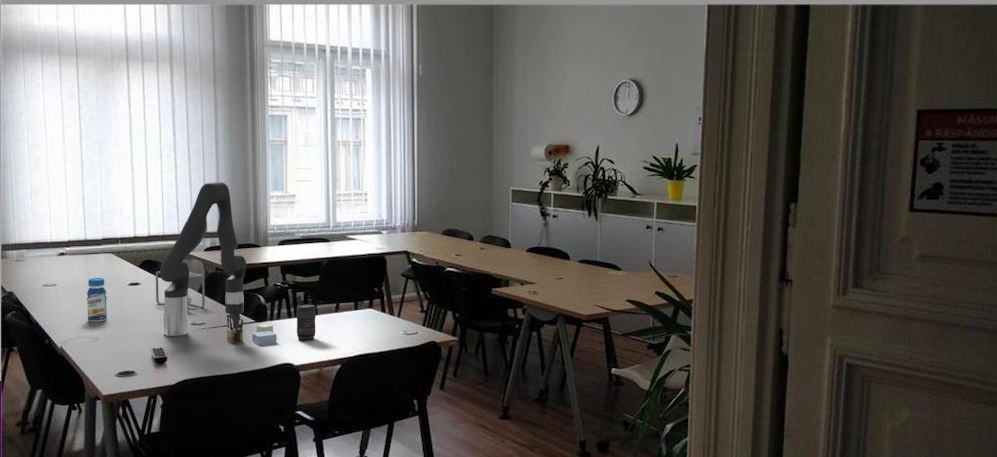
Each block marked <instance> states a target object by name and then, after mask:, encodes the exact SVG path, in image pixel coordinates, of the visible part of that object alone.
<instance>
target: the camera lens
mask: <svg viewBox="0 0 997 457" xmlns="http://www.w3.org/2000/svg"><path fill="white" fill-rule="evenodd" d="M316 309H317V308H316V305H313V304H300V305H297V307H296V336H297V339H298V341H299V342H310V341H311V342H312V341H313V340H314V339H315V336H316V316H317V314H316Z"/></svg>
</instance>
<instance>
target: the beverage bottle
mask: <svg viewBox="0 0 997 457" xmlns="http://www.w3.org/2000/svg"><path fill="white" fill-rule="evenodd" d="M87 283H88V287H89V288H88V290H87V292H86V295H87V297H86V301H87V302H86V303H87V321H88V322H90V323H92V322H93V323H96V322H97V323H99V322H104V321H107V319H108V314H107V313H108V312H107V301H108V297H107V291H106V289H105V288H104V286H105V278H104V277H94V278H89V279H88V281H87Z"/></svg>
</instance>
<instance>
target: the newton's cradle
mask: <svg viewBox="0 0 997 457" xmlns="http://www.w3.org/2000/svg"><path fill="white" fill-rule="evenodd" d="M159 275H160V270H158V271H156V272H155V297H156V298H155V299H156V300H155V301H156V303H157V304H158V305H161V306H164V307H165V301H162V302H160V301H159V300H160V299H159ZM195 277H200V278H201V292H202V294H201V296H202V299H201V300H202V302H201V303H202V304H201V305H199V304H196V303H192V301H193V299H192V297H191V296H190V295H189V293H190V292H191V289H188V291H187V311H188V310H189V311H190V310H194V309H195V310H196V309H204V308H205V304H206V303H205V302H206V301H205V292H206V291H205V277H204V274H201V273H196V272H195V273H194V272H192V271H189V278H191V279H190V280H192V278H195ZM168 283H169V284H168V285H171V283H170V282H168ZM191 283H192V282H189V284H190V286H189V287H191V285H192V284H191ZM189 307H191V308H189Z"/></svg>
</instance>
